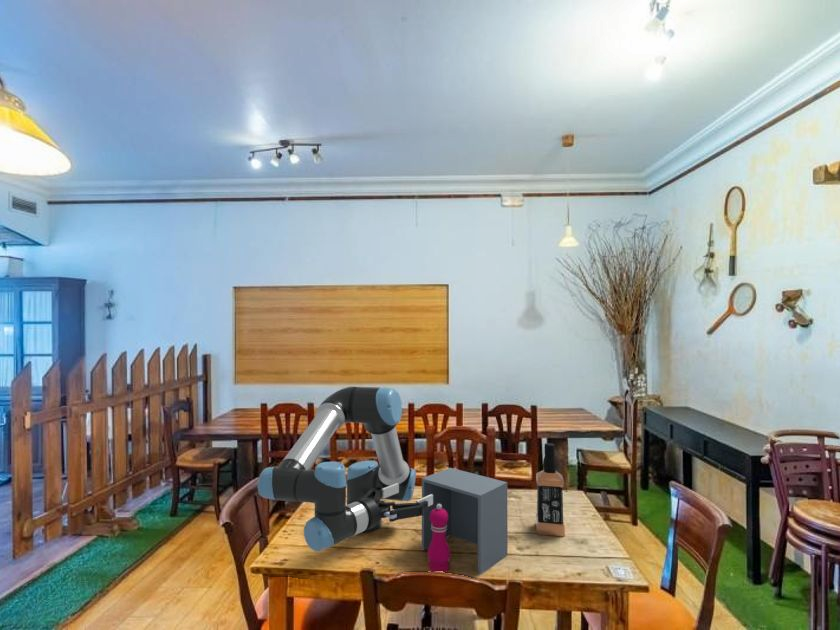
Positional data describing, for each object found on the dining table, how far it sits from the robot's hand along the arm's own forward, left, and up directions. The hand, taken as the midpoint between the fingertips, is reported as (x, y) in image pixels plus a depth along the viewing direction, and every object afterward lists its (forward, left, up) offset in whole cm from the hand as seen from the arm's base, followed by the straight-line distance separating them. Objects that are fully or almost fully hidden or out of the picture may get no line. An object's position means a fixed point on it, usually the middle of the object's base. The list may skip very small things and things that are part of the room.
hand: (414, 493), depth 135 cm
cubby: (0, +25, -26) cm, 37 cm away
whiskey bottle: (+14, +61, -27) cm, 68 cm away
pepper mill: (0, +12, -27) cm, 29 cm away
